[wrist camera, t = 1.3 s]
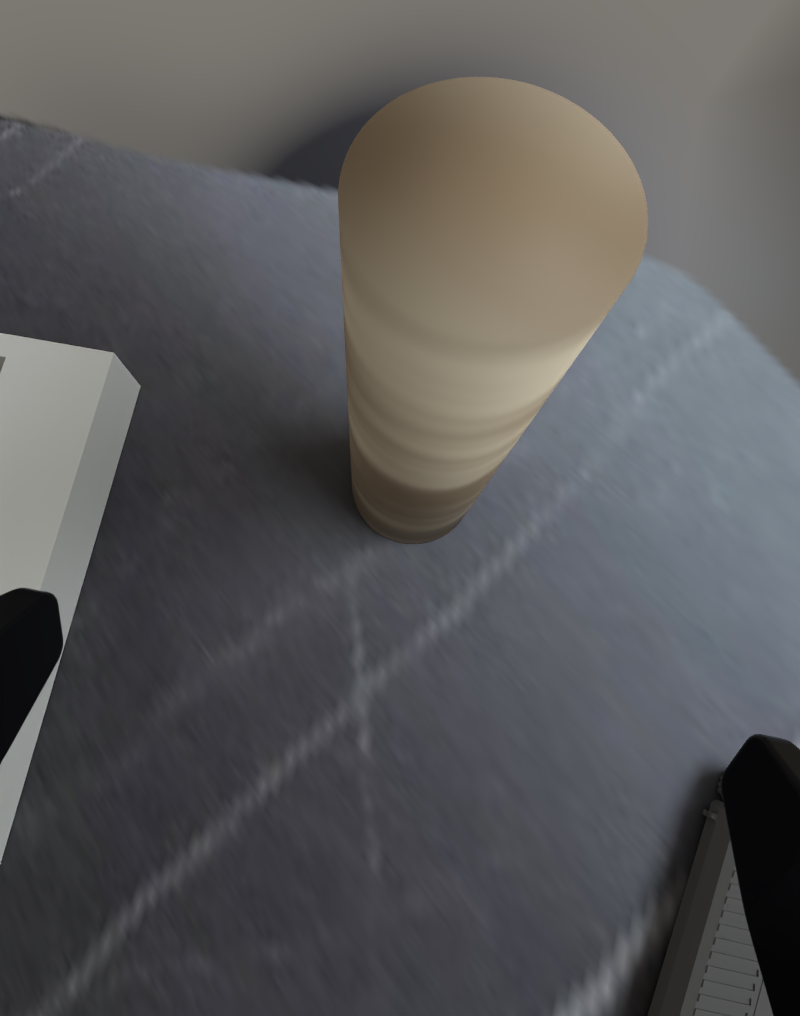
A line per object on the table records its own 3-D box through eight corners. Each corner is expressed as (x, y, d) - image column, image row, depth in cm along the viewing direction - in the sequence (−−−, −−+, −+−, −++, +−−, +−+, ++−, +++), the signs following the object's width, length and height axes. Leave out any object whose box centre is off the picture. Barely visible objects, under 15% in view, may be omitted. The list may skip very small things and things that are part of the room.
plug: (463, 553, 21) (640, 367, 8) (341, 532, 21) (310, 309, 8) (478, 439, 23) (655, 106, 9) (363, 419, 22) (367, 53, 9)
